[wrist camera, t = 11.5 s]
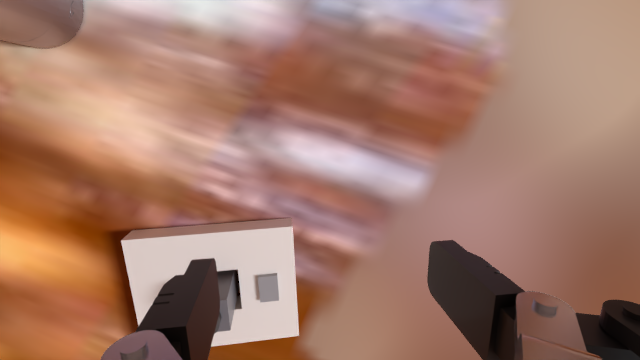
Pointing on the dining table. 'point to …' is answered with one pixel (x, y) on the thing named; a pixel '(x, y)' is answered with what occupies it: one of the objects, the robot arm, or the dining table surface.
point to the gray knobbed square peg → (226, 298)
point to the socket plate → (230, 254)
